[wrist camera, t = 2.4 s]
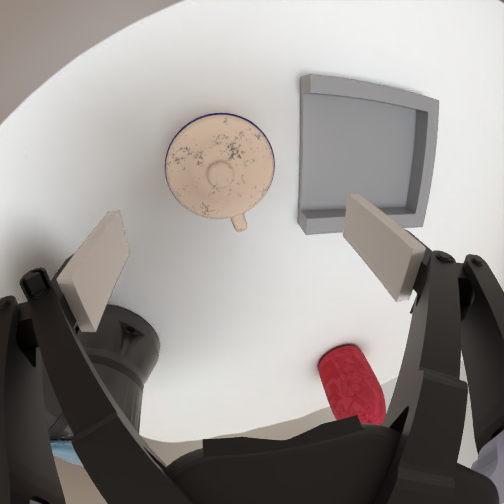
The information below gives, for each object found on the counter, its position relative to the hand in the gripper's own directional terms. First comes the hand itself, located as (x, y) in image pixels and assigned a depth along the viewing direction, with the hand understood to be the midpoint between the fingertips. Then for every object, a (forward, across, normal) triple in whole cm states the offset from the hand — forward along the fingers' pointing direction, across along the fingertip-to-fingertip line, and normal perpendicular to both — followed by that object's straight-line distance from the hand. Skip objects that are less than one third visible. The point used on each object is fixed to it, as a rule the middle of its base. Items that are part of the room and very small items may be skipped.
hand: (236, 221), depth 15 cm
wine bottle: (+17, +20, -38) cm, 46 cm away
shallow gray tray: (+17, +18, +1) cm, 25 cm away
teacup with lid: (+17, 0, 0) cm, 17 cm away
